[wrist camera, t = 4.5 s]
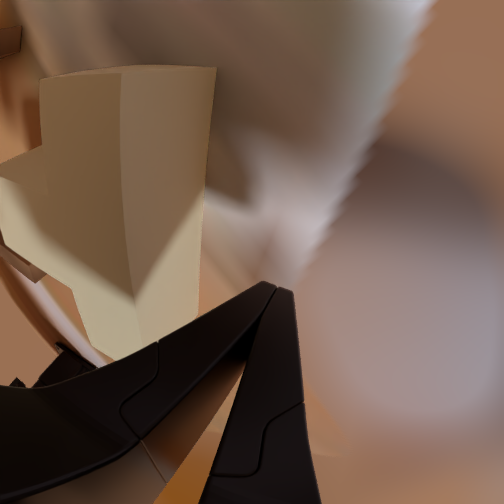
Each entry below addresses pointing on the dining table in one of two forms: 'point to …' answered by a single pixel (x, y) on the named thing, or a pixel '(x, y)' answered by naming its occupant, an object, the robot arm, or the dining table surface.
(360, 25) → the dining table surface
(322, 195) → the dining table surface
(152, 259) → the T block
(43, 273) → the frame
